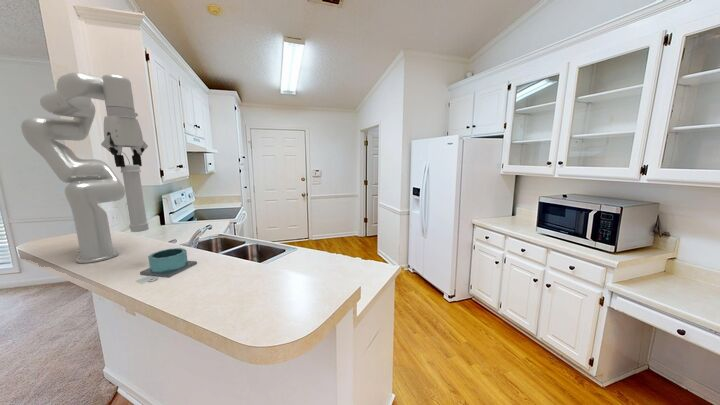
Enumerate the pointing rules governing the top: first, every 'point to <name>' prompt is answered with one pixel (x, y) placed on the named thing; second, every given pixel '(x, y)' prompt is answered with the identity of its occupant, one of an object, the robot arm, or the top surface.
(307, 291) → the top surface
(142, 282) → the mounting bracket
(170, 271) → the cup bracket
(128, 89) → the robot arm
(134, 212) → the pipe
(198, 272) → the top surface
